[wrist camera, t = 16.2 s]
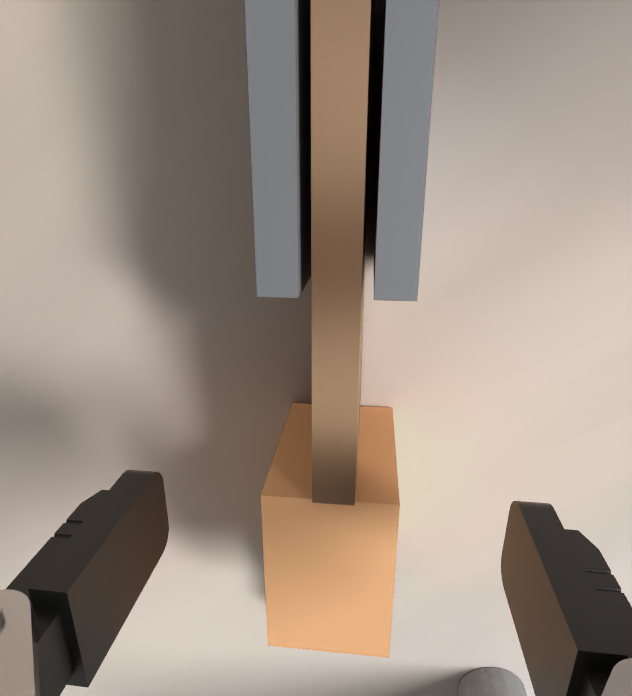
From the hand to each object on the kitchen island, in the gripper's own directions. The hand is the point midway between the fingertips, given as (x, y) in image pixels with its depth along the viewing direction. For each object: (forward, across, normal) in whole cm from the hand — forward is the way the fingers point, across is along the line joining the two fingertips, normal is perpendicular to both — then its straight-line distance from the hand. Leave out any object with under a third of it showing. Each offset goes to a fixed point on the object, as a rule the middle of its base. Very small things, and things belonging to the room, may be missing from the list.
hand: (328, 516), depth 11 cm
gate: (+9, 0, -6) cm, 10 cm away
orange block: (+8, 0, +4) cm, 9 cm away
